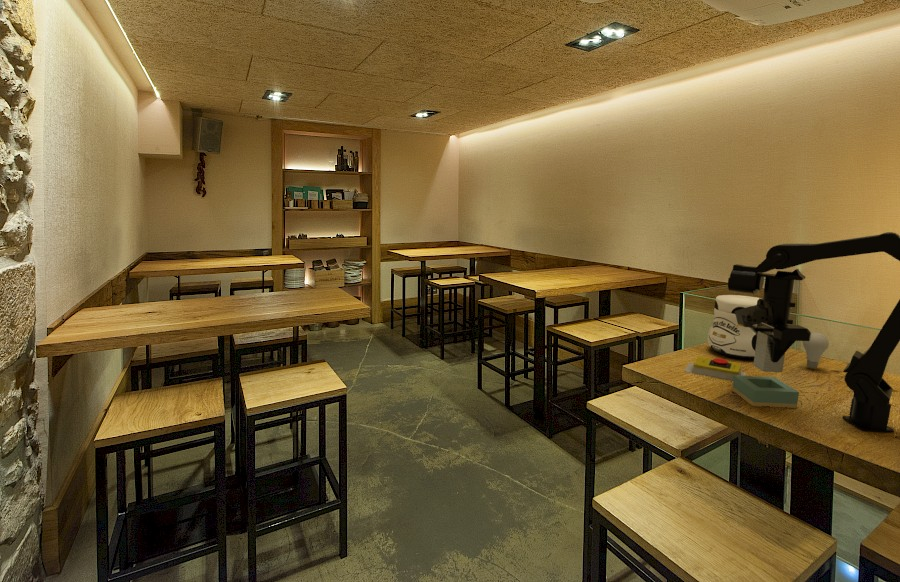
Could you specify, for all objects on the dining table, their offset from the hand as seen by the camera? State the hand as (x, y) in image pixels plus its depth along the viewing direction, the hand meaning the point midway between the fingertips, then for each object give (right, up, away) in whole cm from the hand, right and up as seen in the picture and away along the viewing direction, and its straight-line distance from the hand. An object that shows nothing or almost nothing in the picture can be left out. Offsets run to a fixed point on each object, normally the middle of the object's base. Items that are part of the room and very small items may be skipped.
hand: (768, 359), depth 118 cm
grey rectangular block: (0, -3, 0) cm, 2 cm away
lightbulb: (+29, -7, +24) cm, 38 cm away
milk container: (+15, -4, +38) cm, 41 cm away
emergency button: (-2, -7, +20) cm, 22 cm away
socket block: (0, -10, +2) cm, 10 cm away
